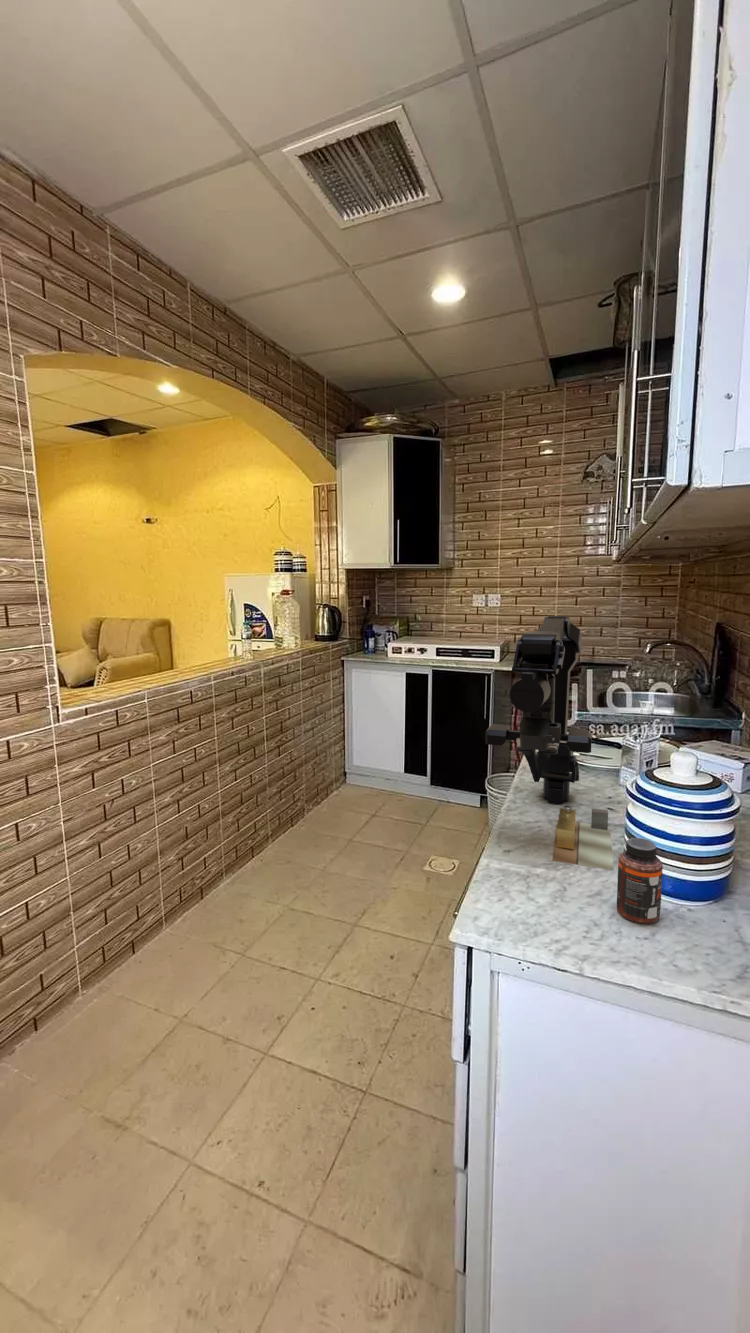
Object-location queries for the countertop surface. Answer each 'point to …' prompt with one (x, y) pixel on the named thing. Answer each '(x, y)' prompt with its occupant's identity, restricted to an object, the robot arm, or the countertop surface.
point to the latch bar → (566, 828)
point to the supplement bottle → (639, 882)
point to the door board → (587, 848)
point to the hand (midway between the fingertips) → (536, 781)
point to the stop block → (599, 819)
